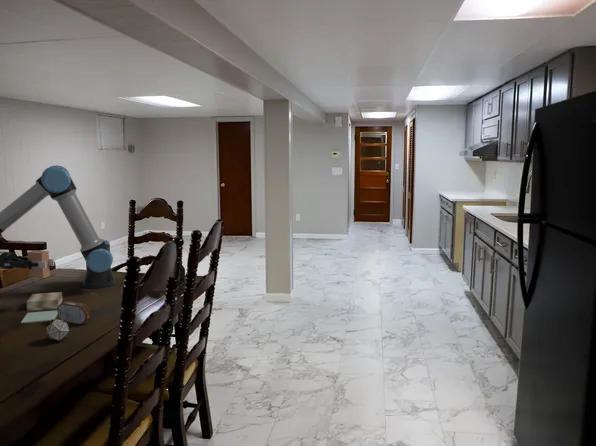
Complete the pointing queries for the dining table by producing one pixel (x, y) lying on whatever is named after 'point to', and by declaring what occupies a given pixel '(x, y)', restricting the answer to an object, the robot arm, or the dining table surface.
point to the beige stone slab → (44, 301)
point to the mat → (40, 316)
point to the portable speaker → (74, 312)
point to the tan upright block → (39, 256)
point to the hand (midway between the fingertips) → (49, 263)
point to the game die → (57, 329)
